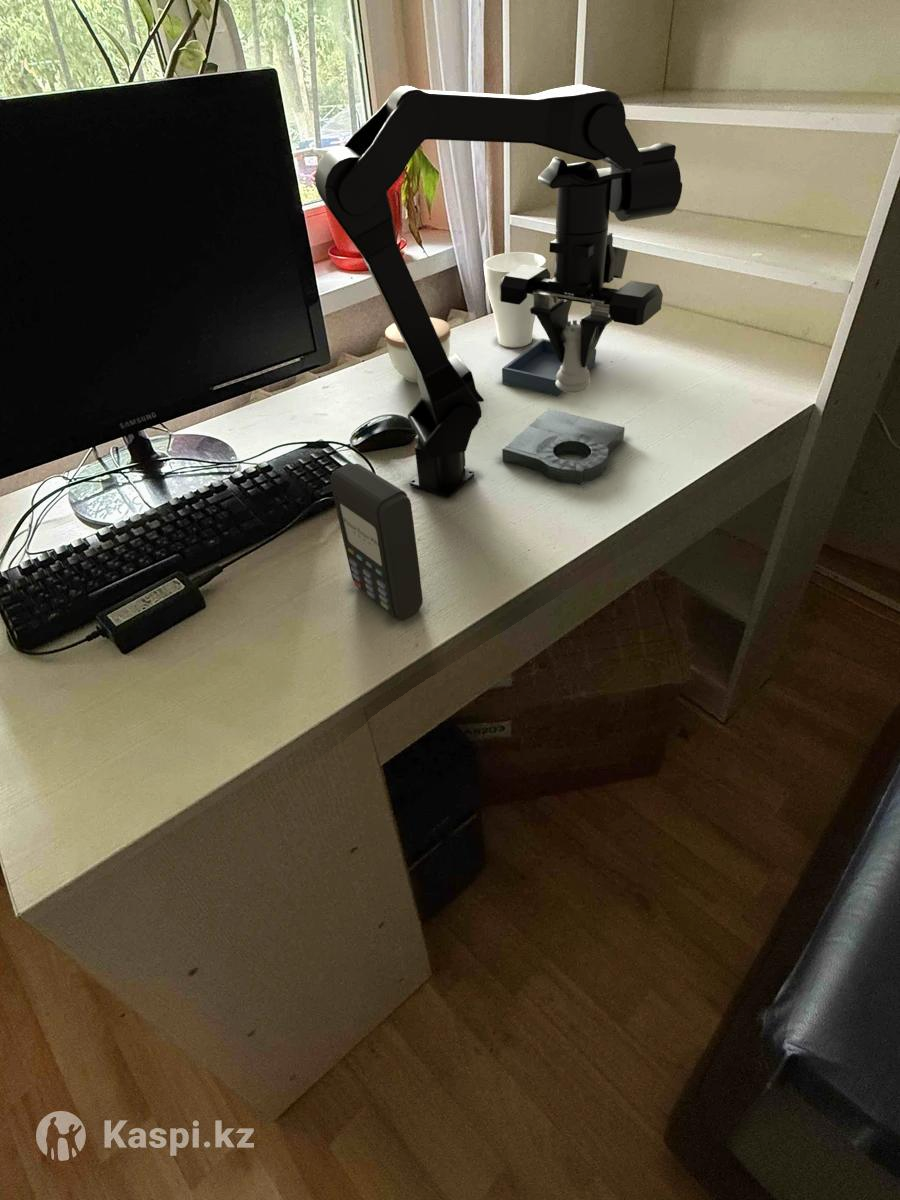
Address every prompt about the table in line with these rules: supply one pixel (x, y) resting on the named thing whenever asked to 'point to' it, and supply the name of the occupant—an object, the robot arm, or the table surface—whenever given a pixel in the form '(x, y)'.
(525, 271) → the robot arm
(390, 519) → the card reader
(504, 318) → the cup
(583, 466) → the drain plate
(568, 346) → the rook chess piece
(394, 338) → the trinket box
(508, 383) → the tray
